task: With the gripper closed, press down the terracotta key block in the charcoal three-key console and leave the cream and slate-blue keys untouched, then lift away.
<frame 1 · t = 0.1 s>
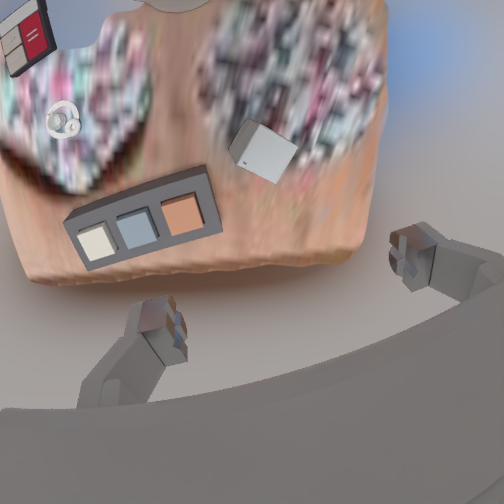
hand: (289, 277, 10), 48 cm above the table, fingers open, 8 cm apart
slate key: (138, 226, 52), point 6 cm above the table, slide at 0.0 cm
cream key: (98, 239, 52), point 6 cm above the table, slide at 0.0 cm
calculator: (30, 36, 32), on the table
white curved piece: (62, 134, 45), on the table
key console: (143, 213, 57), on the table
terracotta key: (183, 212, 52), point 6 cm above the table, slide at 0.0 cm
supplement box: (253, 141, 54), on the table
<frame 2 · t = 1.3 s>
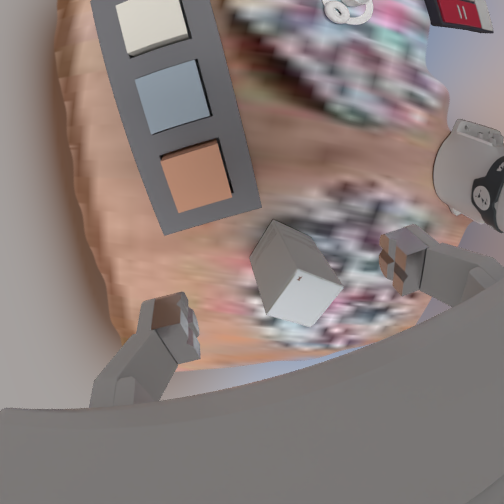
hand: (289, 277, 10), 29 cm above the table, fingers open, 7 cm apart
slate key: (174, 96, 26), point 6 cm above the table, slide at 0.0 cm
cream key: (153, 22, 21), point 6 cm above the table, slide at 0.0 cm
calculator: (449, 1, 25), on the table
key console: (178, 95, 31), on the table
terracotta key: (197, 173, 31), point 6 cm above the table, slide at 0.0 cm
supplement box: (280, 246, 45), on the table
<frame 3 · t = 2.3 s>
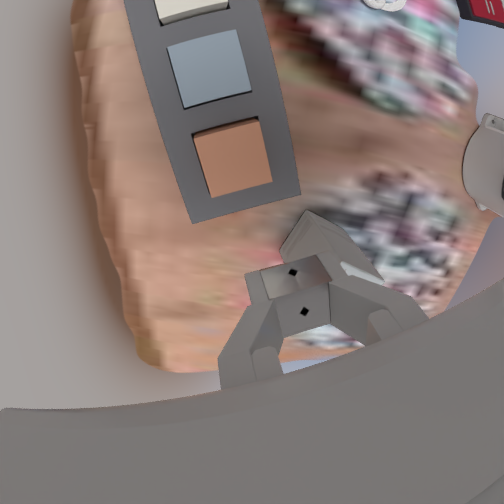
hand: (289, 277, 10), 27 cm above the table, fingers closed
slate key: (209, 68, 23), point 6 cm above the table, slide at 0.0 cm
key console: (209, 72, 28), on the table
terracotta key: (232, 155, 28), point 6 cm above the table, slide at 0.0 cm
supplement box: (311, 239, 42), on the table
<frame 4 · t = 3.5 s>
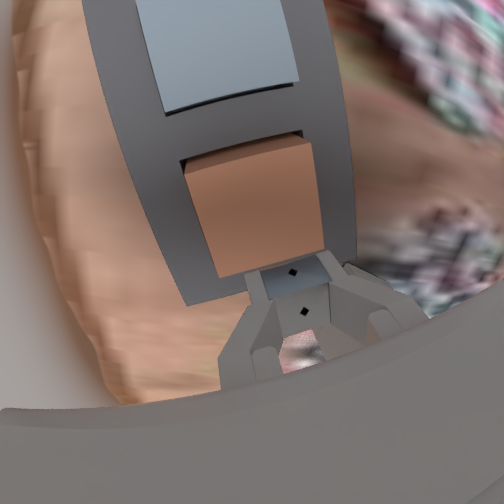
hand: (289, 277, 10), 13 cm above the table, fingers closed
slate key: (215, 39, 11), point 6 cm above the table, slide at 0.0 cm
key console: (211, 54, 16), on the table
terracotta key: (254, 199, 16), point 6 cm above the table, slide at 0.0 cm
supplement box: (348, 297, 30), on the table
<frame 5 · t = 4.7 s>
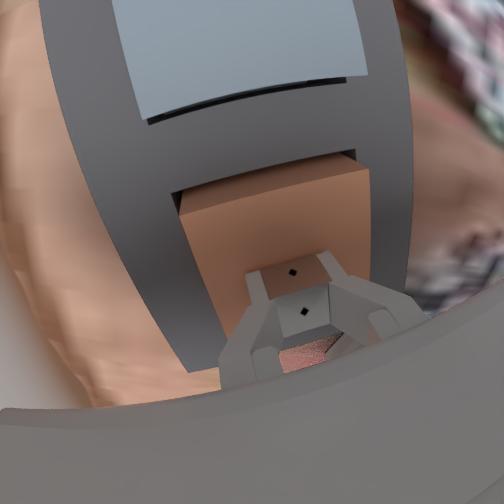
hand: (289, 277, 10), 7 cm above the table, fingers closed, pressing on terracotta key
slate key: (228, 5, 7), point 6 cm above the table, slide at 0.0 cm
key console: (218, 37, 11), on the table
terracotta key: (278, 239, 12), point 5 cm above the table, slide at 0.6 cm, touching gripper
supplement box: (371, 333, 25), on the table
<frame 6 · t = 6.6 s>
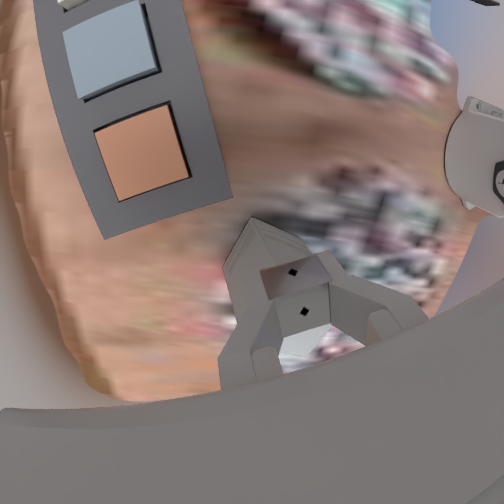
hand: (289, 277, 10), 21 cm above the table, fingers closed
slate key: (112, 51, 16), point 6 cm above the table, slide at 0.0 cm
key console: (126, 60, 21), on the table
terracotta key: (144, 149, 22), point 5 cm above the table, slide at 1.3 cm
supplement box: (261, 252, 35), on the table
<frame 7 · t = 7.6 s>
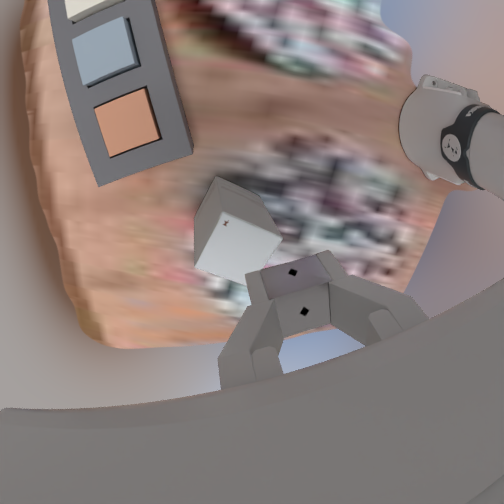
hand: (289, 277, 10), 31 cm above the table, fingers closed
slate key: (107, 52, 23), point 6 cm above the table, slide at 0.0 cm
key console: (120, 57, 28), on the table
terracotta key: (129, 121, 29), point 5 cm above the table, slide at 1.3 cm
supplement box: (226, 206, 42), on the table
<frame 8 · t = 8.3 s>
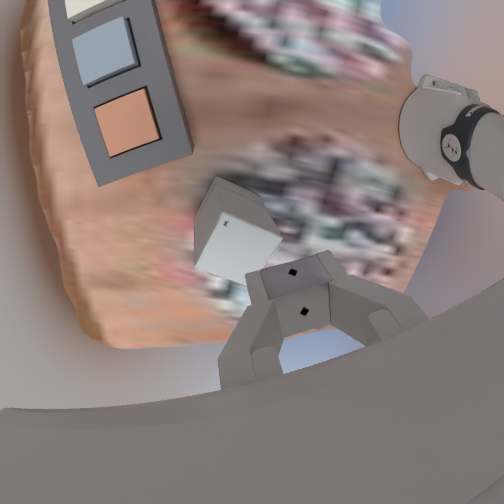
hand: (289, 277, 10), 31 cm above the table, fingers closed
slate key: (107, 52, 23), point 6 cm above the table, slide at 0.0 cm
key console: (120, 57, 28), on the table
terracotta key: (130, 121, 29), point 5 cm above the table, slide at 1.3 cm
supplement box: (226, 206, 42), on the table
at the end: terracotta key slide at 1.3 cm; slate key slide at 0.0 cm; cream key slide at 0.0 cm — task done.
